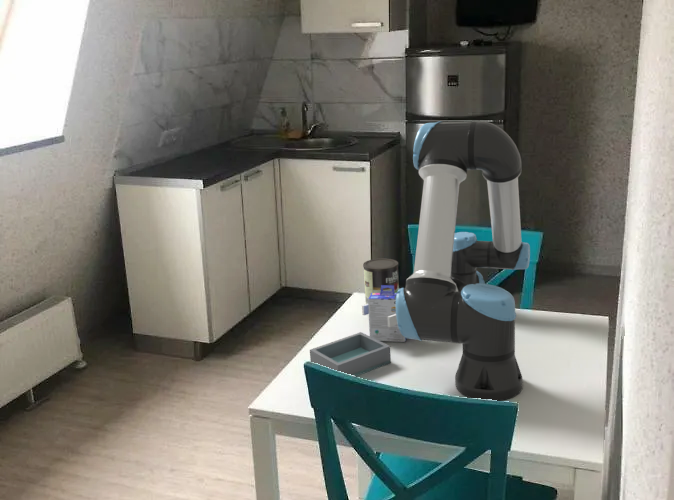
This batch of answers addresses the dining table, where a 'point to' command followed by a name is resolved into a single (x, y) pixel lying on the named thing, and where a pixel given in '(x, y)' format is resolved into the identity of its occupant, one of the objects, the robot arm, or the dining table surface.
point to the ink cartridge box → (383, 315)
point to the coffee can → (380, 276)
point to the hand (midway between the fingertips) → (375, 316)
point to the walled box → (352, 354)
